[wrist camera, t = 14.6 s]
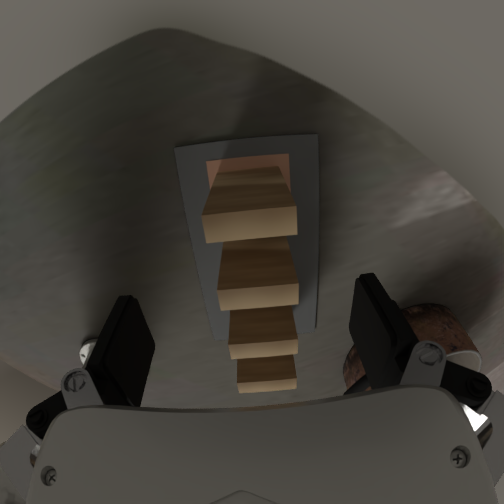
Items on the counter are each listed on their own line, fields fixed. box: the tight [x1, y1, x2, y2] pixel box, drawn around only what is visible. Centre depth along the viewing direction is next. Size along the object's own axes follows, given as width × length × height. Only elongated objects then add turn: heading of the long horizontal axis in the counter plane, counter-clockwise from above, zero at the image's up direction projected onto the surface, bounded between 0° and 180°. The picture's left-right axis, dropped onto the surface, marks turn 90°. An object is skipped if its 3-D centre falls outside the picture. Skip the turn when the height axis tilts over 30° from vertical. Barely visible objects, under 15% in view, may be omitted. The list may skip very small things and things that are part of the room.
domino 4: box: [237, 354, 297, 393], centre depth 32 cm, size 2×6×11 cm, turn 95°
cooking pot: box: [343, 304, 482, 395], centre depth 39 cm, size 30×22×11 cm
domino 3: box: [228, 305, 298, 359], centre depth 29 cm, size 2×6×11 cm, turn 95°
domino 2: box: [217, 236, 299, 311], centre depth 26 cm, size 2×6×11 cm, turn 95°
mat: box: [174, 134, 319, 340], centre depth 33 cm, size 26×14×1 cm, turn 5°
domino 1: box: [201, 166, 297, 243], centre depth 23 cm, size 2×6×11 cm, turn 95°
